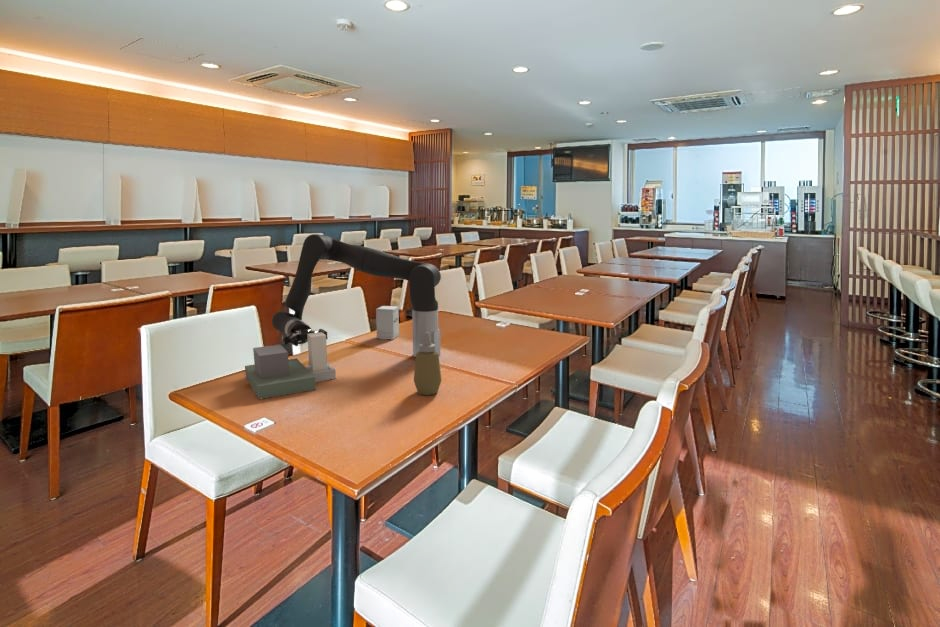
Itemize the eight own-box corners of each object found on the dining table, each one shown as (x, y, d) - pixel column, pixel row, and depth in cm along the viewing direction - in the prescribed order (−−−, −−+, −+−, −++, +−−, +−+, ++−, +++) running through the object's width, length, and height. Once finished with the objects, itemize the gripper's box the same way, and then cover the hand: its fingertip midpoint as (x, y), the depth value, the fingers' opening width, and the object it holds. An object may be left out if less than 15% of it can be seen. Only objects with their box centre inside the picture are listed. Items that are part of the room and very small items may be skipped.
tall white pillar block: (324, 374, 171) (321, 332, 168) (328, 378, 167) (325, 335, 164) (309, 376, 169) (307, 333, 166) (313, 380, 165) (311, 337, 162)
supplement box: (393, 340, 214) (392, 309, 211) (376, 339, 215) (375, 308, 213) (399, 335, 221) (398, 306, 218) (382, 334, 222) (381, 305, 220)
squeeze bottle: (414, 388, 158) (413, 329, 155) (441, 387, 159) (440, 329, 155) (413, 397, 151) (412, 336, 147) (442, 396, 151) (441, 336, 148)
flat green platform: (322, 366, 179) (320, 334, 177) (342, 384, 161) (341, 350, 159) (245, 378, 167) (242, 344, 165) (258, 399, 149) (255, 362, 146)
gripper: (276, 322, 182) (287, 332, 168) (317, 318, 189) (331, 327, 176) (277, 344, 183) (288, 355, 170) (318, 338, 191) (332, 349, 177)
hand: (310, 341), depth 173 cm, fingers open, 8 cm apart
